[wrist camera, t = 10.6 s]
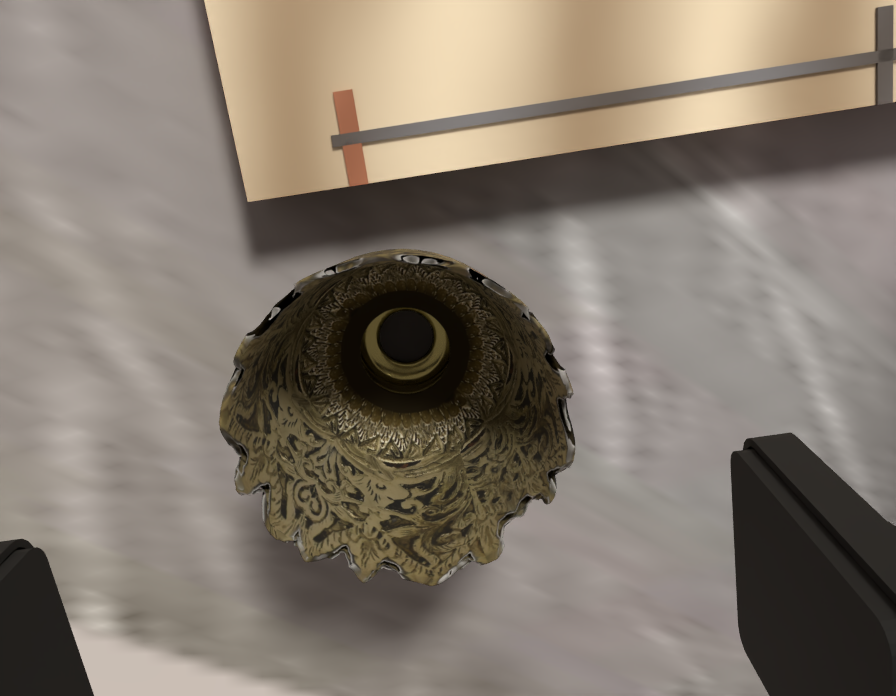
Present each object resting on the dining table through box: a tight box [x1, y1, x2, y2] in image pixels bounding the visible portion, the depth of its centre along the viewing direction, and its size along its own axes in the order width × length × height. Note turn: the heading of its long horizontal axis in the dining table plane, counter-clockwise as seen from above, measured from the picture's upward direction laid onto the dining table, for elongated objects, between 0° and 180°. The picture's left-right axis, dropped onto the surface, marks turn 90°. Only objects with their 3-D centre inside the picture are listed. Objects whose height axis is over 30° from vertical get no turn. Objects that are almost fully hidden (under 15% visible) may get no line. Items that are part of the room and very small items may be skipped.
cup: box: [219, 249, 575, 586], centre depth 20 cm, size 8×7×8 cm
